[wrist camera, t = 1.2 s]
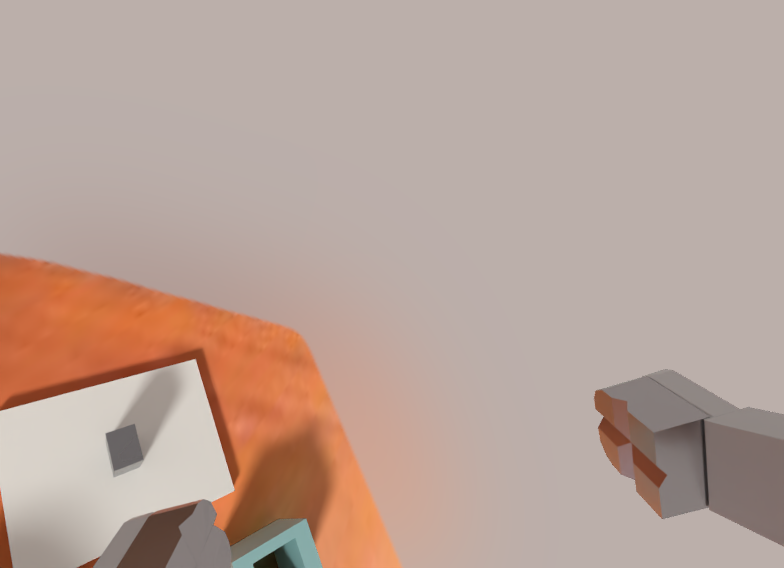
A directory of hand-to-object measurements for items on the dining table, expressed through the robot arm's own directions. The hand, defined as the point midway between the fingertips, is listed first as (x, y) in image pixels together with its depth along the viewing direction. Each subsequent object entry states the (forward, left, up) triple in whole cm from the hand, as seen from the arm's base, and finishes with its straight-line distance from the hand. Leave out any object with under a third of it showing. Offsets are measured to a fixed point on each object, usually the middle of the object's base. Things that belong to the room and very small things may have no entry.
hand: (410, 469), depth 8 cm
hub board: (-5, +5, -40) cm, 41 cm away
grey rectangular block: (-5, +5, -39) cm, 39 cm away
